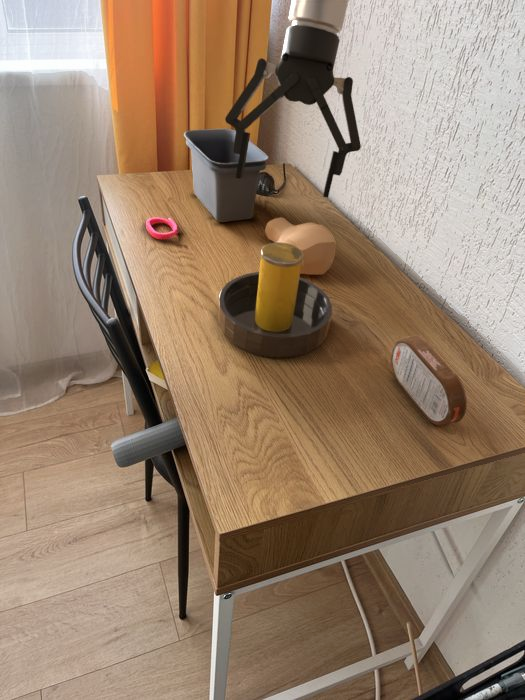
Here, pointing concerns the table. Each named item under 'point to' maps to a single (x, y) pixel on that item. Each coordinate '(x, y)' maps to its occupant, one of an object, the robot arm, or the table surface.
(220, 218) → the storage bin
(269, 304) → the corn can
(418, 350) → the tin
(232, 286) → the pan
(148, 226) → the fitness band
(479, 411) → the table surface
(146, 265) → the table surface
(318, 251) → the squash
